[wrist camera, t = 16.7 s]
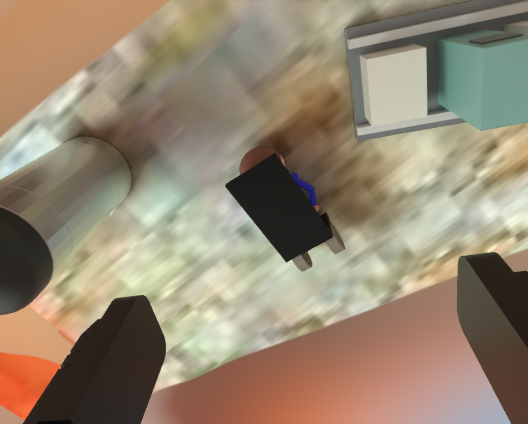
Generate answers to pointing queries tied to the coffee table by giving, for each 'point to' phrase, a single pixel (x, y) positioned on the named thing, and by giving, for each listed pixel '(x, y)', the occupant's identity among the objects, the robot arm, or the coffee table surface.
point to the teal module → (484, 77)
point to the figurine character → (282, 207)
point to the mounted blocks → (401, 81)
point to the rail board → (426, 34)
